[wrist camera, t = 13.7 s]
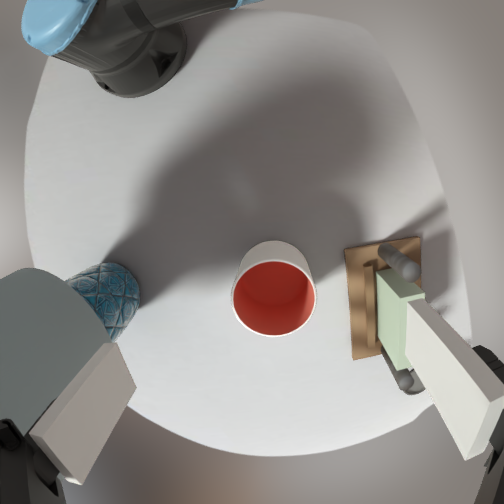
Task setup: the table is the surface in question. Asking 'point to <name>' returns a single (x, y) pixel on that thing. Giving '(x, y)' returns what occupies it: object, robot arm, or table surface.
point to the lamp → (56, 332)
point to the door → (394, 313)
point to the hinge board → (365, 297)
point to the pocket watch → (415, 385)
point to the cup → (273, 290)
